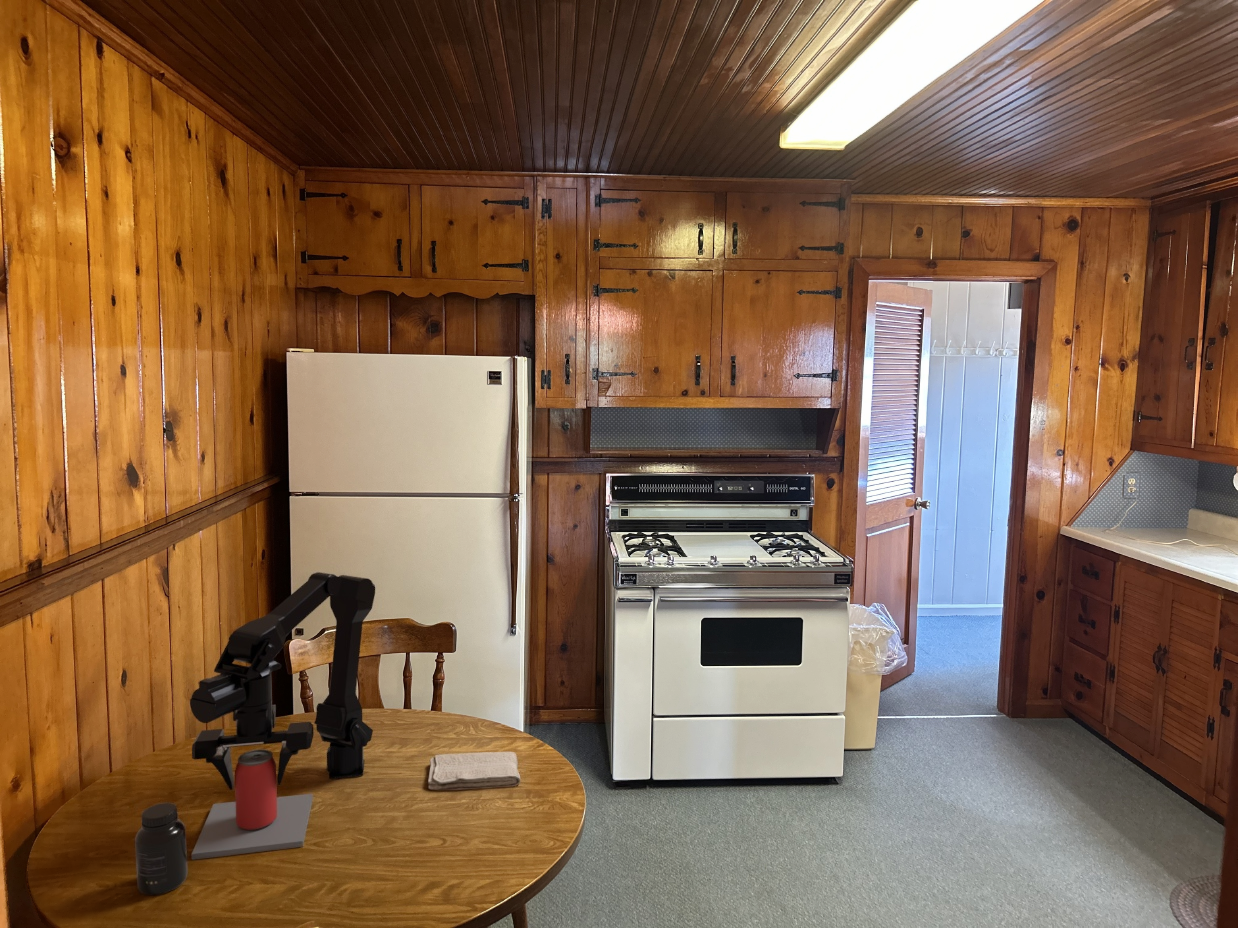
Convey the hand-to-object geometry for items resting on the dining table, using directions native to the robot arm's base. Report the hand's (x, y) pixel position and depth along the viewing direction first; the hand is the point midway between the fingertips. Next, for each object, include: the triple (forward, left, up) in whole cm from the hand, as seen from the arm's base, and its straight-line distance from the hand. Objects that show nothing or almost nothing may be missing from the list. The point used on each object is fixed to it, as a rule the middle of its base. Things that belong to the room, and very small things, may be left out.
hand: (255, 786), depth 140 cm
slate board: (0, 0, -8) cm, 8 cm away
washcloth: (-39, -11, -8) cm, 41 cm away
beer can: (0, 0, -7) cm, 7 cm away
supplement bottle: (+11, +14, -8) cm, 19 cm away
